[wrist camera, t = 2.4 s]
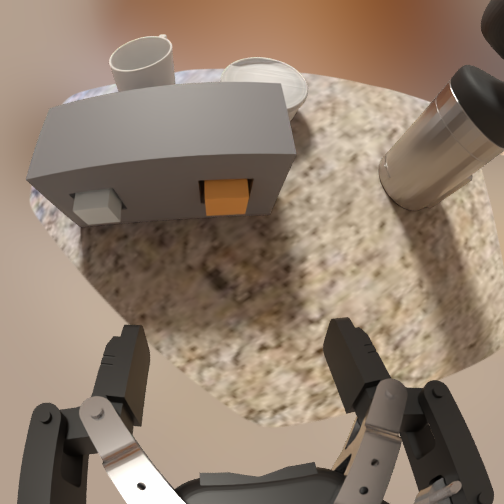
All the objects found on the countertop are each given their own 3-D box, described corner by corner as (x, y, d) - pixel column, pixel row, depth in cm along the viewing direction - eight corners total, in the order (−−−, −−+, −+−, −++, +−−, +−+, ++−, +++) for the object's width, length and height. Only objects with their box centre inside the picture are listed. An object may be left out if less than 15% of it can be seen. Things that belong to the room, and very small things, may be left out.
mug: (169, 145, 33) (154, 73, 21) (123, 137, 32) (97, 71, 21) (196, 92, 35) (193, 24, 24) (154, 87, 35) (142, 23, 24)
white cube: (123, 189, 26) (112, 171, 23) (120, 221, 25) (107, 206, 22) (92, 193, 26) (78, 176, 22) (88, 224, 25) (72, 211, 21)
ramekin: (278, 77, 38) (285, 52, 33) (313, 128, 36) (325, 103, 31) (208, 90, 36) (208, 63, 31) (236, 146, 34) (239, 119, 29)
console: (262, 154, 34) (281, 83, 22) (269, 214, 32) (296, 154, 20) (89, 168, 31) (49, 108, 19) (80, 227, 29) (25, 179, 17)
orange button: (242, 181, 28) (245, 161, 24) (245, 214, 27) (249, 197, 23) (205, 182, 27) (204, 163, 24) (206, 215, 26) (204, 199, 23)
